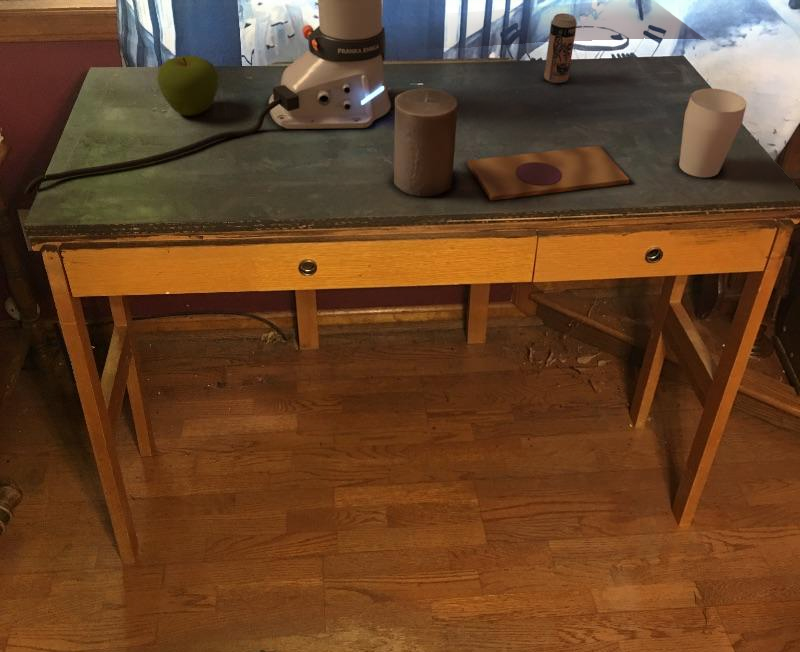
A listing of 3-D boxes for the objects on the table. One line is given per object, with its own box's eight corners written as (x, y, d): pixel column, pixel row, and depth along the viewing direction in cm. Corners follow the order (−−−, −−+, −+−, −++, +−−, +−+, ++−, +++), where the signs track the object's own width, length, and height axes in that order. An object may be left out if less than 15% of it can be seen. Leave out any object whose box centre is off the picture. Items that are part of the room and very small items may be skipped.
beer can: (552, 86, 168) (561, 23, 160) (538, 77, 171) (547, 14, 163) (572, 82, 170) (582, 19, 161) (558, 72, 173) (567, 11, 164)
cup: (728, 184, 141) (750, 115, 133) (672, 178, 143) (690, 109, 134) (724, 158, 148) (745, 91, 140) (671, 152, 149) (688, 85, 141)
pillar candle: (456, 171, 143) (463, 83, 132) (446, 201, 136) (452, 110, 126) (399, 164, 144) (401, 76, 134) (387, 193, 137) (388, 103, 127)
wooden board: (490, 200, 136) (491, 195, 136) (467, 164, 145) (467, 159, 144) (628, 183, 141) (629, 178, 140) (598, 149, 149) (599, 144, 149)
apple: (196, 130, 152) (187, 75, 145) (150, 116, 155) (140, 61, 148) (234, 107, 159) (227, 53, 152) (189, 94, 162) (181, 41, 155)
